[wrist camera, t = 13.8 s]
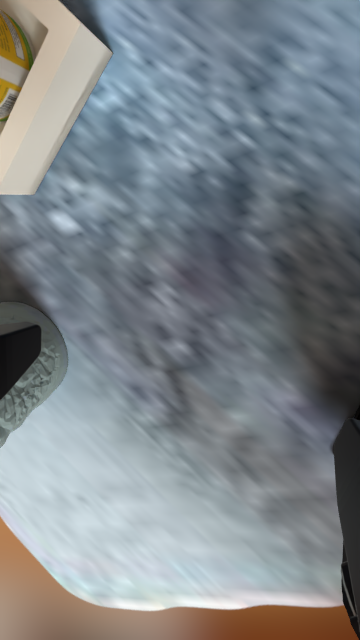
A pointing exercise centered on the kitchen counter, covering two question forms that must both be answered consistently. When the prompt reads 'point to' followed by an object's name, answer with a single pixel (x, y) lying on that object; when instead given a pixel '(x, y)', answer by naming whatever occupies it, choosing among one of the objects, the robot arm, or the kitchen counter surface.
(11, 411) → the grey green cup
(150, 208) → the kitchen counter surface
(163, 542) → the kitchen counter surface
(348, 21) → the kitchen counter surface
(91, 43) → the cream square tray
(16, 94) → the supplement bottle
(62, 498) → the kitchen counter surface
